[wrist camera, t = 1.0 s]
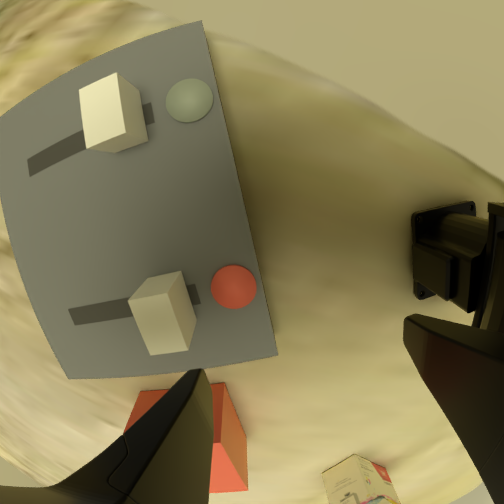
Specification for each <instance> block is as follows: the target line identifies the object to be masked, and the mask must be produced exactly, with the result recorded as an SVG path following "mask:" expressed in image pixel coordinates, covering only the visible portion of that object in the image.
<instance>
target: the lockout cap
mask: <svg viewBox="0 0 504 504" xmlns="http://www.w3.org/2000/svg"><path fill="white" fill-rule="evenodd" d="M210 386H211V389H212V396H213V422H214V440H213V452H212V463H211V475H210V488H209V493H222V492H237V491H248V472H247V442H246V435H245V433H244V431H243V428H242V426H241V423H240V421H239V419H238V416H237V414H236V411H235V409H234V406H233V404H232V401H231V398H230V396H229V393H228V391H227V388H226V386H225V383H218V384H211V385H210ZM168 390H169V389H167V390H154V391H140V393H139V396H138V398H137V400H136V403H135V405H134V408H133V410H132V413H131V415H130V418H129V420H128V423H127V425H126V428H125V430H124V432H125V431H126V430H128V429H129V428H130V427H131V426H132V425H133V424H134V423H135V422H136V421H137V420H138V419H139V418H140V417H141V416H142V415H143V414H144V413H146V412H147V411H148V410H149V409H150V408H151V407H152V406H153V405H154V404H155V403H156V402H157V401H158V400H159V399H160V398H161V397H162V396H163V395H164V394H165V393H166V392H167V391H168Z"/></svg>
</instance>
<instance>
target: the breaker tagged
mask: <svg viewBox="0 0 504 504" xmlns="http://www.w3.org/2000/svg"><path fill="white" fill-rule="evenodd" d="M128 303H129V305H130V308H131V311H132V313H133V316H134V318H135V321H136V323H137V326H138V328H139V330H140V333H141V335H142V338H143V340H144V342H145V344H146V347H147V349H148V351H149V353H150V356H151V355H159V354H166V353H174V352H181V351H187V350H188V349H189V346H190V342H191V339H192V335H193V332H194V328H195V325H196V322H197V319H196V316H195V313H194V310H193V307H192V304H191V301H190V297H189V294H188V291H187V288H186V285H185V282H184V278H183V275H182V272H181V271H177V272H173V273H168V274H164V275H159V276H155V277H150V278H147V279H146V280H145V282H144V283H143V284H142V285H141V286H140V287H139V288H138V289H137V291H136V292H135V293H134V294H133V295H132V296H131V298H130V299H129V300H128Z"/></svg>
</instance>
